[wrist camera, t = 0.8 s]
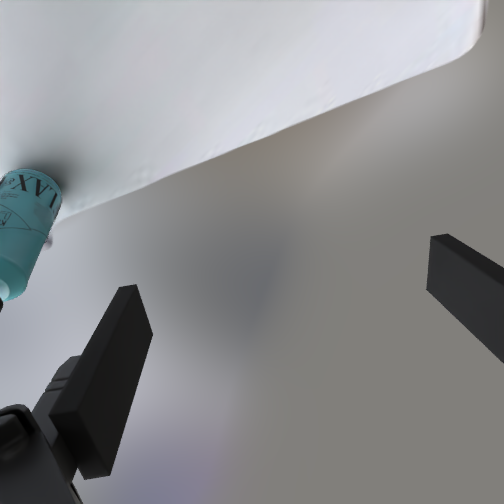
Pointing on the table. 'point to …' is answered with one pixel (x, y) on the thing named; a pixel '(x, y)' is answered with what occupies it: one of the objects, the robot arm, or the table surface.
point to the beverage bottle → (24, 226)
